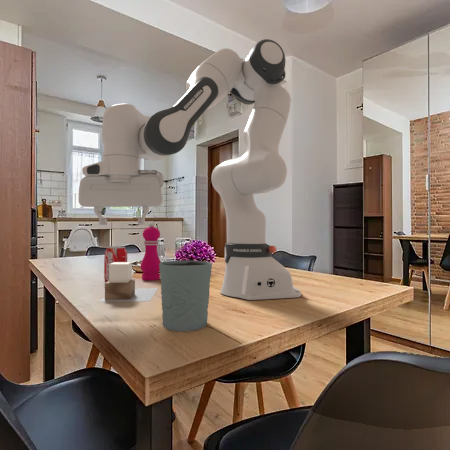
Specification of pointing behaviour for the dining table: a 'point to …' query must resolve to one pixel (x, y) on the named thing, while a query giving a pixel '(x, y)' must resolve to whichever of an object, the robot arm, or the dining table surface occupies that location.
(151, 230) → the pepper mill
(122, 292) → the walnut base
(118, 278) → the cream cube
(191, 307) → the green plant pot
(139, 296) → the board
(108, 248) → the soda can
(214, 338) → the dining table surface
